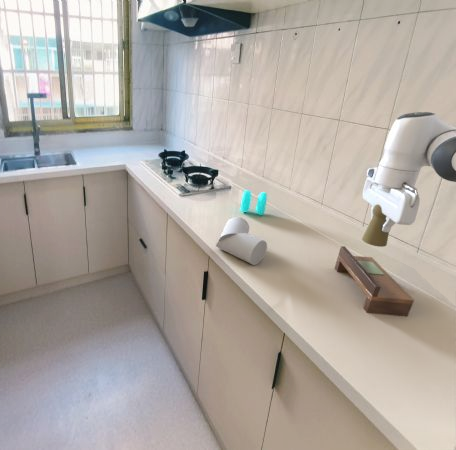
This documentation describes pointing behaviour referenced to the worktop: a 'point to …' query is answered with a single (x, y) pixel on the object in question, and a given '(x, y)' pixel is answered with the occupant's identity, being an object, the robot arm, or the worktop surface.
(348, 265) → the shelf
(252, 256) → the bent grey cylinder
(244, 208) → the cyan twin rounded posts
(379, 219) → the olive pawn shape
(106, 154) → the worktop surface
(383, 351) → the worktop surface
